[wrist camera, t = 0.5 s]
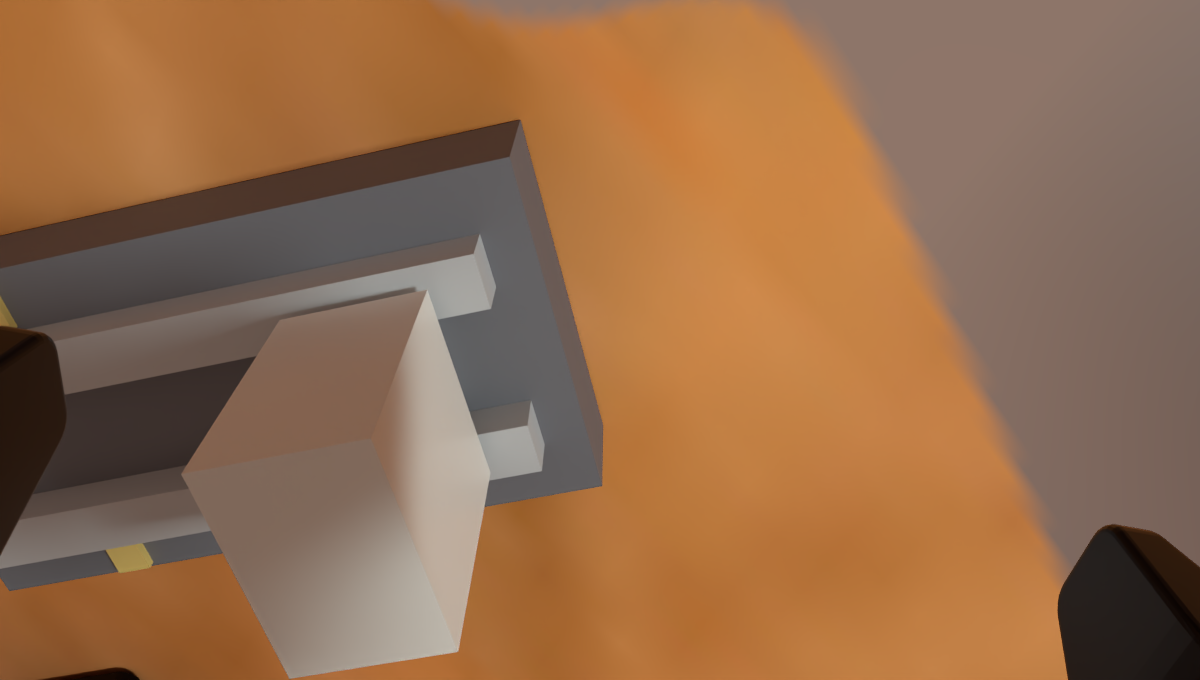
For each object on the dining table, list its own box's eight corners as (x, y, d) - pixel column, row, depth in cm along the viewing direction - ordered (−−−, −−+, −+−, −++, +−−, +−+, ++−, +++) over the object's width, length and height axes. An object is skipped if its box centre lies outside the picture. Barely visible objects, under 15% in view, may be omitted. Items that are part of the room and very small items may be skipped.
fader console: (59, 525, 27) (-13, 620, 23) (-107, 259, 23) (-218, 331, 20) (603, 425, 25) (601, 513, 22) (519, 119, 21) (504, 174, 18)
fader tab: (368, 464, 22) (289, 678, 17) (296, 292, 20) (181, 474, 15) (495, 440, 22) (458, 651, 16) (437, 264, 20) (370, 438, 14)
